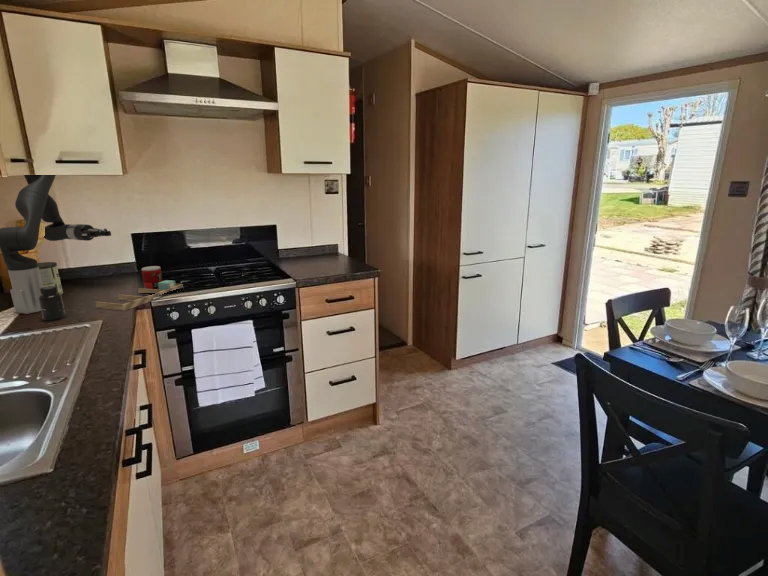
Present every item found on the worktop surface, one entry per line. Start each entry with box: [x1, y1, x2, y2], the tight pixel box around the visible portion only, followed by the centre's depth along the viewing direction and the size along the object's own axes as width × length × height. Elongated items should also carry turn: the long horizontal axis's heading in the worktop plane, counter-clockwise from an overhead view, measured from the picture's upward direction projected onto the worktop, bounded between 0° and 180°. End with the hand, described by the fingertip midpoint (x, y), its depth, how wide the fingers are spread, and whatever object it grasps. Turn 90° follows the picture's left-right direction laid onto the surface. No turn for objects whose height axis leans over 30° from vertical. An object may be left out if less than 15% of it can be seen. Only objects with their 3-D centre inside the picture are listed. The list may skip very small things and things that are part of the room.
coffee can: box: [37, 261, 64, 295], centre depth 187 cm, size 10×10×14 cm
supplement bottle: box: [39, 286, 66, 322], centre depth 157 cm, size 7×7×12 cm
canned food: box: [141, 265, 164, 290], centre depth 193 cm, size 8×8×11 cm
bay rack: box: [94, 283, 184, 312], centre depth 183 cm, size 32×15×2 cm, turn 164°
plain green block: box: [158, 279, 177, 290], centre depth 191 cm, size 5×5×5 cm
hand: (109, 233), depth 192 cm, fingers closed
